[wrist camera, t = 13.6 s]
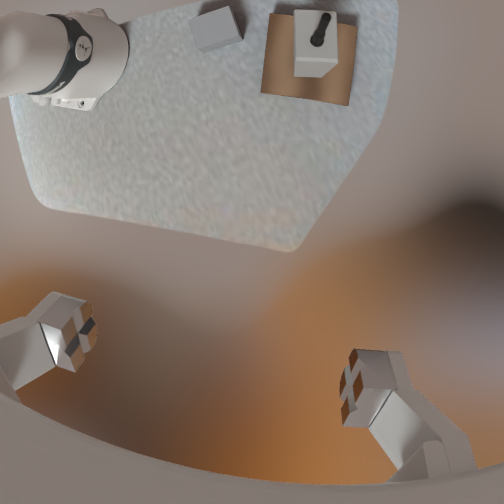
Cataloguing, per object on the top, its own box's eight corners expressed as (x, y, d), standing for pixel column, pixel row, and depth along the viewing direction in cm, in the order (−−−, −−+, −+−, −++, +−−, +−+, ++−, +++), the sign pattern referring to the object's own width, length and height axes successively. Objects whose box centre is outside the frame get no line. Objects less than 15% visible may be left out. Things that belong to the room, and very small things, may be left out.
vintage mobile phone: (320, 44, 36) (353, -22, 13) (321, 77, 38) (358, 46, 16) (293, 43, 36) (293, -26, 14) (293, 76, 38) (296, 42, 16)
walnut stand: (262, 93, 42) (260, 92, 40) (271, 18, 37) (269, 13, 34) (344, 105, 42) (348, 105, 39) (353, 31, 36) (357, 26, 34)
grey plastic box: (204, 53, 41) (197, 49, 37) (195, 25, 39) (187, 20, 35) (243, 40, 39) (239, 35, 36) (233, 12, 37) (228, 5, 34)
